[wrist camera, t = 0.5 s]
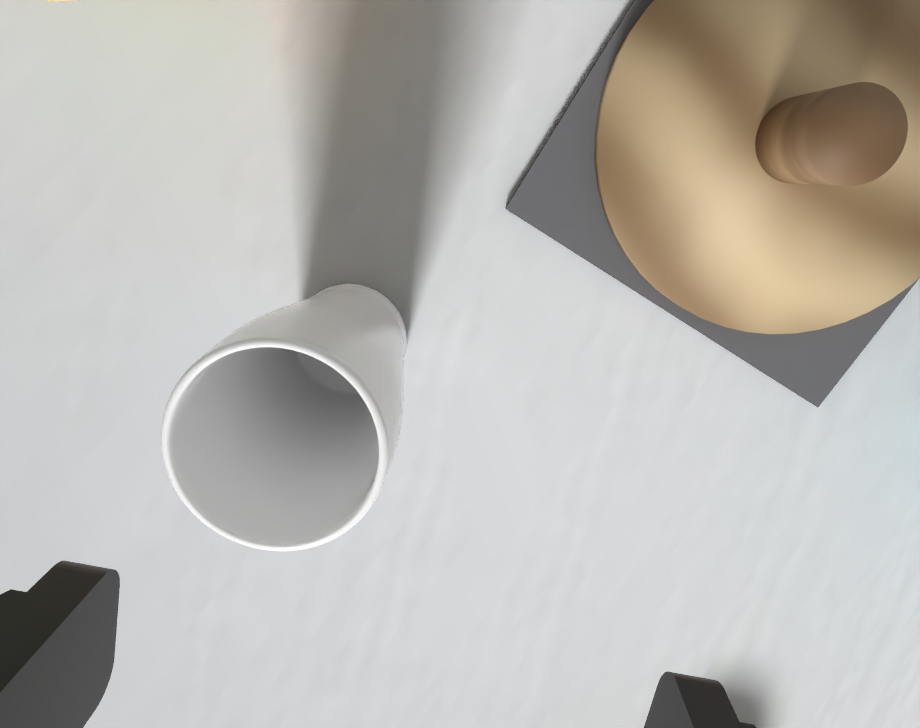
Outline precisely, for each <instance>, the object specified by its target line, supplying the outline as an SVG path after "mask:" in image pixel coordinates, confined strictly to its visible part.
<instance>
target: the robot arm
mask: <svg viewBox="0 0 920 728" xmlns="http://www.w3.org/2000/svg"><path fill="white" fill-rule="evenodd" d="M119 587H120V580H119V574H118V572H117V571H116V570H113V569H107V568H102V567H96V566H91V565H85V564H80V563H74V562H69V561H60V562H59V563H57V564H56V565H54V566H53V567H52V568H51V569H50V570H49V571H48V572H47V573H46V574H45V575H44V576H43V577H42V578H41V579H40V580H39V581H38V582H37V583H36V584H35V585H34V586H33V587H32V588H31V589H30V590H29V591H28V592H22V591H16V590H9V591H7V592H5V593H3V594H1V595H0V728H83V727H84V725H85V724H86V722H87V721H88V719H89V718H90V717H91V715H92V714H93V712H94V711H95V709H96V708H97V706H98V705H99V703H100V701H101V699H102V697H103V695H104V693H105V690H106V688H107V685H108V682H109V679H110V676H111V673H112V668H113V663H114V654H115V641H116V627H117V614H118V600H119ZM644 728H756V727H755V726H754V725H752V724H747V723H741V722H739V720H738V718H737V716H736V714H735V712H734V709H733V707H732V705H731V703H730V701H729V699H728V696H727V694H726V692H725V690H724V688H723V686H722V685H721V684H720V682H718V681H716V680H711V679H705V678H700V677H694V676H689V675H683V674H678V673H672V672H665V673H664V674H663V675H662V677H661V678H660V680H659V683H658V685H657V689H656V692H655V695H654V698H653V701H652V704H651V707H650V711H649V714H648V717H647V720H646V723H645V726H644Z"/></svg>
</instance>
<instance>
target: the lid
mask: <svg viewBox="0 0 920 728" xmlns="http://www.w3.org/2000/svg"><path fill="white" fill-rule="evenodd" d="M594 163H595V171H596V180H597V188H598V192H599V195H600V199H601V203H602V207H603V211H604V214H605V216H606V219H607V221H608V224H609V226H610V229H611V231H612V234H613V235H614V237H615V239H616V241H617V242H618V244H619V246H620V248H621V249H622V251H623V253H624V254H625V256H626V257H627V258H628V260H629V261H630V262H631V264H632V265H633V266H634V268H635V269H636V270H637V271H638V273H639V274H640V275H641V276H642V277H643V278H644V279H645V280H646V281H647V282H648V283H649V284H651V285H652V286H653V287H654V288H655V289H656V290H657V291H659V292H660V293H661V294H663V295H664V296H665V297H667V298H668V299H669V300H671V301H672V302H673V303H675V304H677V305H678V306H680V307H681V308H683V309H685V310H687V311H689V312H691V313H692V314H694V315H696V316H698V317H700V318H702V319H704V320H707V321H710V322H712V323H715V324H718V325H720V326H723V327H727V328H731V329H736V330H740V331H744V332H752V333H763V334H794V333H801V332H807V331H814V330H820V329H823V328H827V327H830V326H834V325H837V324H841V323H844V322H847V321H849V320H851V319H854V318H856V317H858V316H861V315H863V314H866V313H868V312H870V311H871V310H873V309H875V308H877V307H879V306H880V305H882V304H884V303H886V302H887V301H889V300H891V299H892V298H894V297H895V296H896V295H898V294H899V293H901V292H902V291H903V290H905V289H906V288H908V287H909V286H910V285H912V284H913V283H914V282H915V281H916V280H917V279H918V278H919V277H920V0H654V1H653V2H652V3H651V4H650V5H649V6H648V7H647V8H646V9H645V11H644V12H643V14H642V15H641V16H640V18H639V19H638V21H637V22H636V23H635V25H634V26H633V28H632V29H631V30H630V32H629V33H628V35H627V37H626V39H625V41H624V42H623V44H622V46H621V48H620V50H619V52H618V53H617V55H616V57H615V59H614V62H613V65H612V67H611V70H610V72H609V75H608V77H607V80H606V82H605V85H604V89H603V93H602V97H601V101H600V104H599V108H598V114H597V122H596V129H595V145H594Z"/></svg>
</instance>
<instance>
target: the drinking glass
mask: <svg viewBox="0 0 920 728" xmlns="http://www.w3.org/2000/svg"><path fill="white" fill-rule="evenodd" d="M406 346H407V335H406V329H405V325H404V322H403V319H402V317H401V315H400V313H399V312H398V310H397V309H396V307H395V306H394V305H393V304H392V302H391V301H390V300H389V299H388V298H386V297H385V296H384V295H383V294H381V293H379V292H378V291H376V290H374V289H372V288H369V287H366V286H363V285H358V284H340V285H335V286H332V287H328V288H326V289H324V290H322V291H320V292H318V293H317V294H316V295H314V296H313V297H310V298H307V299H305V300H302V301H299V302H297V303H294V304H291V305H288V306H286V307H283V308H280V309H277V310H275V311H272V312H270V313H267V314H265V315H263V316H260V317H258V318H256V319H254V320H252V321H251V322H249V323H247V324H245V325H243V326H242V327H240V328H238V329H237V330H235V331H234V332H232V333H231V334H230V335H228V336H227V337H225V338H224V339H223V340H221V341H220V342H219V343H217V344H216V345H215V346H214V347H212V348H211V349H210V350H209V351H208V352H207V353H206V354H205V355H203V356H202V357H201V358H200V359H199V360H198V361H196V362H195V363H194V364H193V365H192V366H191V367H190V368H189V369H188V370H187V371H186V372H185V373H184V374H183V376H182V377H181V378H180V380H179V381H178V383H177V384H176V386H175V388H174V389H173V391H172V393H171V395H170V397H169V400H168V402H167V405H166V408H165V411H164V415H163V420H162V428H161V447H162V455H163V459H164V463H165V467H166V470H167V473H168V476H169V478H170V480H171V482H172V485H173V487H174V488H175V490H176V492H177V494H178V495H179V497H180V498H181V499H182V501H183V502H184V504H185V505H186V506H187V507H188V508H189V510H190V511H191V512H192V513H193V514H194V515H195V516H196V517H197V518H198V519H199V520H201V521H202V522H203V523H204V524H205V525H207V526H208V527H209V528H211V529H212V530H214V531H215V532H217V533H219V534H220V535H222V536H224V537H226V538H228V539H230V540H232V541H234V542H237V543H240V544H243V545H245V546H249V547H253V548H257V549H263V550H270V551H294V550H302V549H307V548H311V547H315V546H318V545H321V544H324V543H326V542H329V541H331V540H333V539H335V538H337V537H339V536H340V535H342V534H343V533H345V532H346V531H348V530H349V529H350V528H352V527H353V526H354V525H355V524H356V523H358V522H359V521H360V520H361V519H362V518H363V517H364V515H365V514H366V513H367V512H368V511H369V509H370V508H371V506H372V505H373V504H374V502H375V500H376V499H377V497H378V495H379V493H380V491H381V488H382V486H383V483H384V480H385V478H386V475H387V473H388V471H389V468H390V465H391V463H392V460H393V457H394V453H395V450H396V446H397V443H398V439H399V435H400V429H401V423H402V415H403V399H404V357H405V353H406Z"/></svg>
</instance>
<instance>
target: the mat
mask: <svg viewBox="0 0 920 728" xmlns="http://www.w3.org/2000/svg"><path fill="white" fill-rule="evenodd" d="M653 1H654V0H634V2H633V3H632V5H631V6H630V8H629V10H628V11H627V13H626V15H625V16H624V18H623V19H622V21H621V23H620V24H619V26H618V27H617V29H616V31H615V32H614V34H613V35H612V37H611V39H610V40H609V42H608V44H607V45H606V47H605V48H604V50H603V52H602V53H601V55H600V56H599V58H598V60H597V61H596V63H595V64H594V66H593V68H592V69H591V71H590V73H589V74H588V76H587V77H586V79H585V81H584V82H583V84H582V85H581V87H580V89H579V90H578V92H577V94H576V95H575V97H574V98H573V100H572V102H571V103H570V105H569V106H568V108H567V110H566V111H565V113H564V114H563V116H562V118H561V119H560V121H559V123H558V124H557V126H556V127H555V129H554V131H553V132H552V134H551V135H550V137H549V139H548V140H547V142H546V143H545V145H544V147H543V148H542V150H541V152H540V153H539V155H538V156H537V158H536V160H535V161H534V163H533V164H532V166H531V168H530V169H529V171H528V173H527V174H526V176H525V177H524V179H523V181H522V182H521V184H520V185H519V187H518V189H517V190H516V192H515V193H514V195H513V197H512V198H511V200H510V202H509V203H508V205H507V206H506V209H507V210H509V211H510V212H512V213H513V214H515V215H516V216H518V217H520V218H521V219H523V220H524V221H526V222H527V223H529V224H531V225H532V226H534V227H535V228H537V229H538V230H540V231H542V232H543V233H545V234H546V235H548V236H549V237H551V238H553V239H554V240H556V241H557V242H559V243H560V244H562V245H564V246H565V247H567V248H568V249H570V250H571V251H573V252H575V253H576V254H578V255H579V256H581V257H582V258H584V259H586V260H587V261H589V262H590V263H592V264H593V265H595V266H597V267H598V268H600V269H601V270H603V271H604V272H606V273H608V274H609V275H611V276H612V277H614V278H615V279H617V280H619V281H620V282H622V283H623V284H625V285H626V286H628V287H630V288H631V289H633V290H634V291H636V292H637V293H639V294H641V295H642V296H644V297H645V298H647V299H648V300H650V301H652V302H653V303H655V304H656V305H658V306H659V307H661V308H663V309H664V310H666V311H667V312H669V313H670V314H672V315H674V316H675V317H677V318H678V319H680V320H681V321H683V322H685V323H686V324H688V325H689V326H691V327H692V328H694V329H696V330H697V331H699V332H700V333H702V334H703V335H705V336H707V337H708V338H710V339H711V340H713V341H714V342H716V343H718V344H719V345H721V346H722V347H724V348H725V349H727V350H729V351H730V352H732V353H733V354H735V355H736V356H738V357H740V358H741V359H743V360H744V361H746V362H747V363H749V364H751V365H752V366H754V367H755V368H757V369H758V370H760V371H762V372H763V373H765V374H766V375H768V376H769V377H771V378H773V379H774V380H776V381H777V382H779V383H780V384H782V385H784V386H785V387H787V388H788V389H790V390H791V391H793V392H795V393H796V394H798V395H799V396H801V397H802V398H804V399H806V400H807V401H809V402H810V403H812V404H813V405H815V406H817V407H819V405H820V404H821V403H822V402H823V400H824V399H825V398H826V397H827V395H828V394H829V393H830V391H831V390H832V389H833V388H834V386H835V385H836V384H837V382H838V381H839V380H840V379H841V377H842V376H843V375H844V374H845V372H846V371H847V370H848V368H849V367H850V366H851V365H852V363H853V362H854V361H855V360H856V358H857V357H858V356H859V354H860V353H861V352H862V351H863V349H864V348H865V347H866V345H867V344H868V343H869V342H870V340H871V339H872V338H873V337H874V335H875V334H876V333H877V331H878V330H879V329H880V328H881V326H882V325H883V324H884V322H885V321H886V320H887V319H888V317H889V316H890V315H891V314H892V312H893V311H894V310H895V308H896V307H897V306H898V305H899V303H900V302H901V301H902V300H903V298H904V297H905V296H906V294H907V293H908V292H909V291H910V289H911V288H912V287H913V285H914V284H915V283H916V282H917V280H918V279H919V278H920V277H919V278H918V279H917V280H916V281H915V282H914V283H913V284H912V285H910V286H909V287H908V288H906V289H905V290H903V291H902V292H901V293H899V294H898V295H896V296H895V297H894V298H892V299H891V300H889V301H887V302H886V303H884V304H882V305H880V306H879V307H877V308H875V309H873V310H871V311H870V312H868V313H866V314H863V315H861V316H858V317H856V318H854V319H851V320H849V321H847V322H844V323H841V324H837V325H834V326H830V327H827V328H823V329H820V330H814V331H807V332H801V333H794V334H763V333H752V332H744V331H740V330H736V329H731V328H727V327H723V326H720V325H718V324H715V323H712V322H710V321H707V320H704V319H702V318H700V317H698V316H696V315H694V314H692V313H691V312H689V311H687V310H685V309H683V308H681V307H680V306H678V305H677V304H675V303H673V302H672V301H671V300H669V299H668V298H667V297H665V296H664V295H663V294H661V293H660V292H659V291H657V290H656V289H655V288H654V287H653V286H652V285H651V284H649V283H648V282H647V281H646V280H645V279H644V278H643V277H642V276H641V275H640V274H639V273H638V271H637V270H636V269H635V268H634V266H633V265H632V264H631V262H630V261H629V260H628V258H627V257H626V256H625V254H624V253H623V251H622V249H621V248H620V246H619V244H618V242H617V241H616V239H615V237H614V235H613V234H612V231H611V229H610V226H609V224H608V221H607V219H606V216H605V214H604V211H603V207H602V203H601V199H600V195H599V192H598V188H597V180H596V171H595V163H594V145H595V129H596V122H597V114H598V108H599V104H600V101H601V97H602V93H603V89H604V85H605V82H606V80H607V77H608V75H609V72H610V70H611V67H612V65H613V62H614V59H615V57H616V55H617V53H618V52H619V50H620V48H621V46H622V44H623V42H624V41H625V39H626V37H627V35H628V33H629V32H630V30H631V29H632V28H633V26H634V25H635V23H636V22H637V21H638V19H639V18H640V16H641V15H642V14H643V12H644V11H645V9H646V8H647V7H648V6H649V5H650V4H651V3H652V2H653Z"/></svg>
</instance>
